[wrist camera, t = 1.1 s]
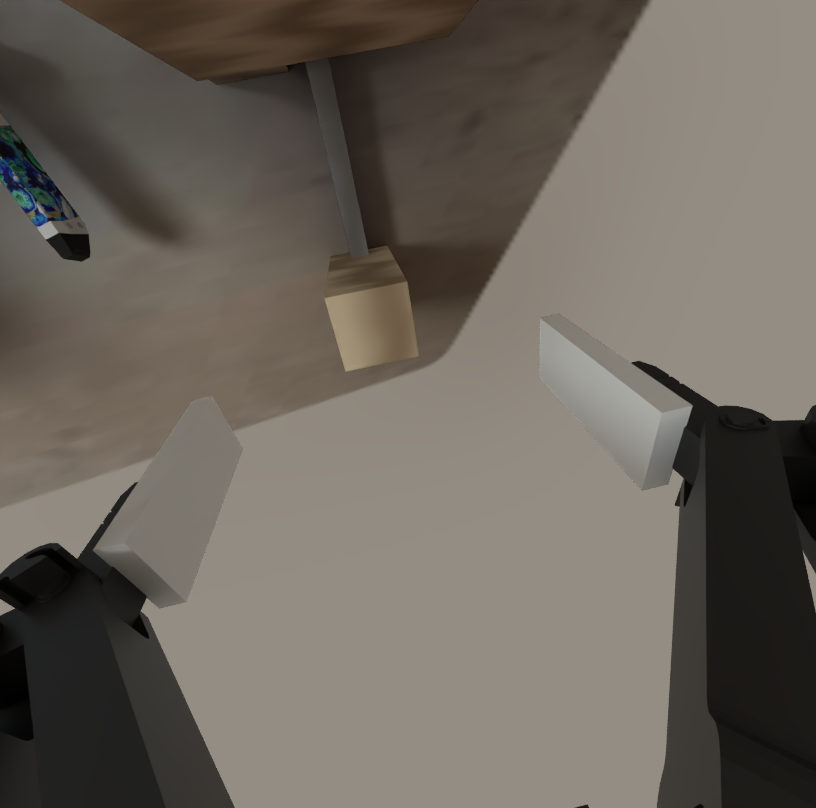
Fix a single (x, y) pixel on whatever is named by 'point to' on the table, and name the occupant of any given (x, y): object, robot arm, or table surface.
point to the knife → (41, 197)
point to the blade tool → (359, 258)
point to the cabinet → (268, 30)
